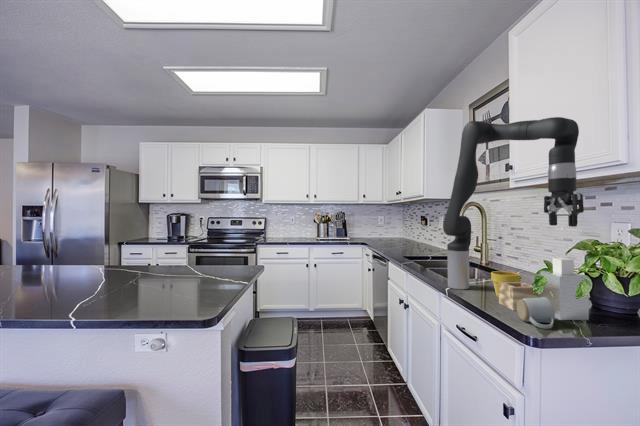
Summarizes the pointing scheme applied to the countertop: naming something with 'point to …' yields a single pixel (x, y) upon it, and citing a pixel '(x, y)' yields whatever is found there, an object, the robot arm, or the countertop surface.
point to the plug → (563, 266)
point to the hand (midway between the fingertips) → (562, 225)
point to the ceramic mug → (536, 311)
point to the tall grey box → (565, 296)
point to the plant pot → (503, 278)
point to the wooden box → (514, 293)
